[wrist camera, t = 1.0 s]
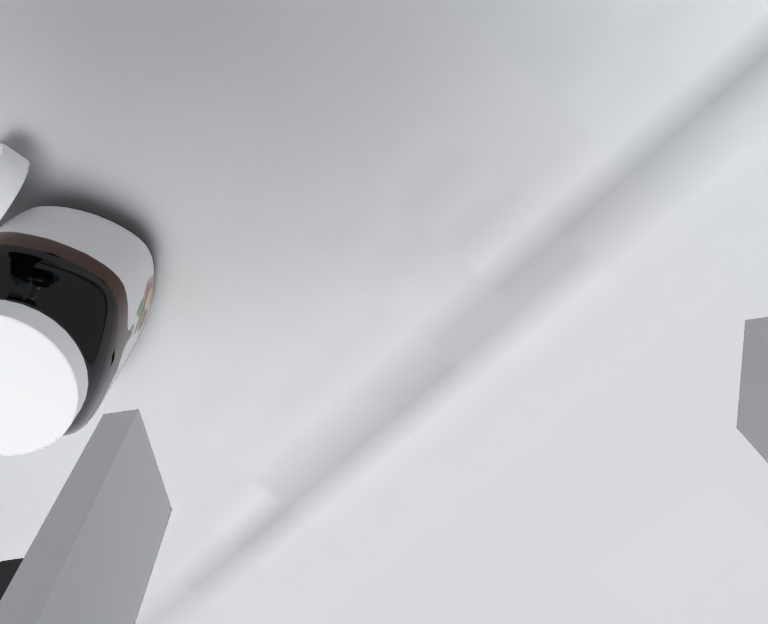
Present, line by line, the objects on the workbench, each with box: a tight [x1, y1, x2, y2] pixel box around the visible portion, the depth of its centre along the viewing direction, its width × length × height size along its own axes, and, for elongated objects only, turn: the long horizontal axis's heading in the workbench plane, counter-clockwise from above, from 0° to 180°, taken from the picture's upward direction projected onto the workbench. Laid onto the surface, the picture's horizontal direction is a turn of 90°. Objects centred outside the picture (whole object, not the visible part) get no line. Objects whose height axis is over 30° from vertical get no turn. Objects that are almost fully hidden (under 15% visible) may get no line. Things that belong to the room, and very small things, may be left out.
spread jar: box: [0, 143, 154, 456], centre depth 34 cm, size 12×11×12 cm
